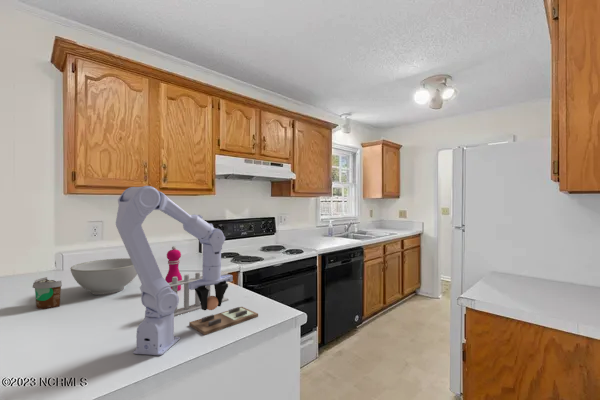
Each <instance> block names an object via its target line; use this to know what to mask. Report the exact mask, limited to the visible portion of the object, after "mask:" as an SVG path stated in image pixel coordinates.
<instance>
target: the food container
mask: <svg viewBox="0 0 600 400" xmlns="http://www.w3.org/2000/svg"><path fill="white" fill-rule="evenodd" d="M62 286H63V284H62V280H55V279H51V280H50V279H48V276H46V277H41V278H37V279H35V280H34V282H33V285H32V288H33V289H34V292H35V293H34V294H35V308H36V309H37V310H49V309H56V308H60V305H61V293H62V292H61V290H62V289H61V288H62Z"/></svg>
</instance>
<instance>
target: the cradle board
mask: <svg viewBox="0 0 600 400" xmlns="http://www.w3.org/2000/svg"><path fill="white" fill-rule="evenodd" d="M258 317H259V313H258V312H255V311H254V310H250V309H249V308H247V307H244V306H238V307H234V308H229V309H228V310H226V311H222V312H220V313H215V314H210V315H207V316H203V317H201V318H200V319H195V320H193V321H189V323H188V324H189V326H190V327H192V328H193V329H194V330H196V331H197V332H199V333H200V334H202V335H203V336H206V335H209V334H212V333H215V332H218V331H220V330H223V329H226V327H227V328H229V327H230V328H231V327H232V326H235V325H238V324H241V323H243V322H246V321H250V320H252V319H255V318H258Z"/></svg>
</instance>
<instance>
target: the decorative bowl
mask: <svg viewBox="0 0 600 400" xmlns="http://www.w3.org/2000/svg"><path fill="white" fill-rule="evenodd" d="M69 269H70V272H71V275H72V277H73V278H74V281H75V282H76V283H77V284H78V285H79V286H80V287H82V288H83V289H85V290H88V291H90V293H91V294H92V295H111V294H115V293H119V292H121V291H123V290H124V289H125V287H126V286H128V285H129V284H130V283H131V282H133V280H134V279H135V278H136V276H138V275H137V272H136V270H135V268H134V265H133V263H132V261H131V259H130V257H129V258H123V257H122V258H108V259H107V258H105V259H97V260H90V261H85V262H81V263H77V264H75V265H72V266H71V267H69Z"/></svg>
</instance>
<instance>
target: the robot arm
mask: <svg viewBox="0 0 600 400" xmlns="http://www.w3.org/2000/svg"><path fill="white" fill-rule="evenodd" d="M117 203H118V208H117V213H116V219H115V225H116V226H115V227H116V229H117V231H118V233H119V236H120V238H121V241H122V243H123V245H124V246H125V247H124V248H125V249H126V252H127V254H128V256H129V258H130V259H131V261H132V263H133V265H134V268H135V270H136V272H137V275H136V276H138V279H139V281H140V283H141V285H140V287H139V290H140V293H141V299H140V301H141V304H142V305H143V306H144V307H145V312H144V318H143V320H142V321H141V322H140V323H139V324H138V326H137V328H136V347H135V348H136V349H134V350H133V352H132V353H133V354H136V355H148V356H149V355H150V356H152V355H153V356H162V355H163V354H165V353H166V352H167V351H168V350H169V349H170V348H172V347H173V345H175V344H176V343H177V342H178V341H179V340H180V339H181V337H180V336H174V333H175V326H174V325H175V317H174V310H175V309H176V307H177V308H178V305H179V302H180V298H179V295H178V292H177V293H176V292H174V291H173V290H172V289H171V287H170V285H169V284H168V283H167V281H166V280H165V278H164V277H163V275H162V272H161V269H160V267H159V265H158V262H157V261H156V257H155V255H154V253H153V251H152V247H151V245H150V244H149V240H148V238H147V237H146V236H147V235H146V234H145V232H144V229H143V226H142V224H143V223H144V221H146V220H145V219H146V218H147V216H148V215H150V214H151V213H152V212H153V211H161V212H163V213H164V214H165V215H167V216H169V217H170V218H172V219H174V220H176V221H177V222H178V223H180V224H182V228H183V230H184V231H185V232H186V233H189V234H190V235H192V236H193V237H195V238H196V239H198V241H199V243H200V244H201V245H202V274H201V276H202V279H199V280H196V281H193V282H189V287H188V289H189V291H192V290H194V292H195V291H196V293H197V295H198V297H199V300H200V303H201V308H202V309H201V310H203V311H207V310H208V309H207V297H208V292H209V290H208V289H206V286H209V285H210V286H213V287H214V293H215V295H214V296H215V297H217V299H218V306H217V307H221V306H222V303H223V302H222V299H223V296H224V297H225V293H226V291H227V289H228V288H229V283H231V282H233V280H234V279H233V275H232V274H228V275H223V276H221V272H222V250H223V245H224V243H225V240H226V236H225V235H224V232H223V230H222V229H220V228H216V227H214V225H213V223H209V222H207V221H206V220H204V218H203V216H202V215H201V214H195V213H194V214H190V213H188V212H187V211H186V210H184V208H182V207H181V206H180V205H178V204H177V203H176V202H174V201H173V200H172V199H171V198H169V197H168V196H167V195H166V194H165V193H163V192H162V191H159V190H158V189H157V188H155V187H154V186H153V185H152V186H150V185H144V186H132V187H128V188H126V189H125V190H124V191H122V193H121V195H120V196H119V198H118V199H117ZM228 282H229V283H228Z"/></svg>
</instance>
